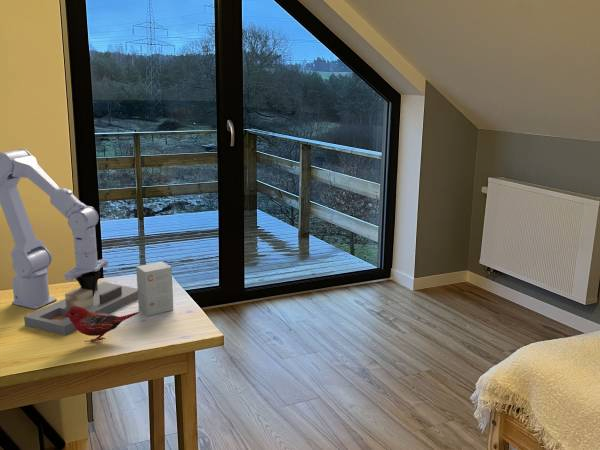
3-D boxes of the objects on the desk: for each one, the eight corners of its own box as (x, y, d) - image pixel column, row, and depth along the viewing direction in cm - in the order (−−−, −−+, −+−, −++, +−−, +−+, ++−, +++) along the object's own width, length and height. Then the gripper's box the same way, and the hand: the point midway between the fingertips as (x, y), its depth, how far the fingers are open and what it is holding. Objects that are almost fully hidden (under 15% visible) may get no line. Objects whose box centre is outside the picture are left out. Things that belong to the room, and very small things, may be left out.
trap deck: (24, 325, 154) (23, 307, 153) (104, 289, 181) (103, 274, 180) (65, 335, 149) (63, 317, 148) (141, 297, 175) (140, 281, 174)
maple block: (66, 307, 160) (64, 293, 159) (79, 300, 165) (78, 287, 164) (80, 310, 158) (79, 296, 158) (93, 303, 163) (92, 290, 162)
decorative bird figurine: (66, 343, 144) (63, 305, 142) (139, 332, 151) (137, 296, 149) (66, 348, 142) (63, 309, 139) (141, 336, 149) (139, 300, 146)
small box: (164, 303, 171) (162, 260, 168) (174, 310, 166) (172, 266, 163) (137, 309, 166) (135, 265, 163) (146, 316, 161) (144, 271, 158)
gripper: (77, 260, 154) (81, 308, 157) (115, 246, 167) (117, 291, 170) (57, 256, 156) (61, 304, 160) (95, 243, 169) (98, 287, 173)
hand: (89, 297), depth 165 cm, fingers closed
